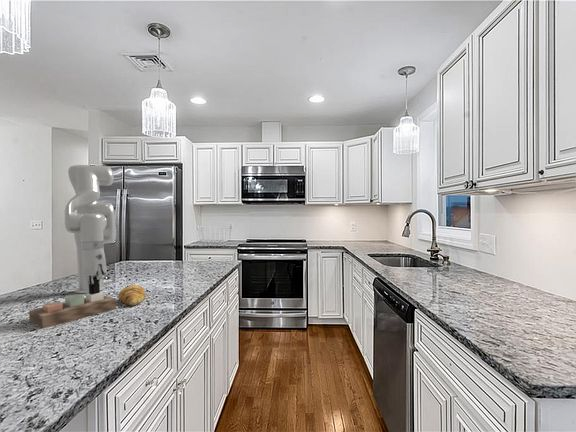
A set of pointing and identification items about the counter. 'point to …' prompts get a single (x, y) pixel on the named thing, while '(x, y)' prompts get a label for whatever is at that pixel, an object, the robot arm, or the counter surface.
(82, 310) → the wooden compartment tray
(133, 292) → the croissant
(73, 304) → the sage key
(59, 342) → the counter surface
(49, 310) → the terracotta key
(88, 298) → the cream cube
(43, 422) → the counter surface
